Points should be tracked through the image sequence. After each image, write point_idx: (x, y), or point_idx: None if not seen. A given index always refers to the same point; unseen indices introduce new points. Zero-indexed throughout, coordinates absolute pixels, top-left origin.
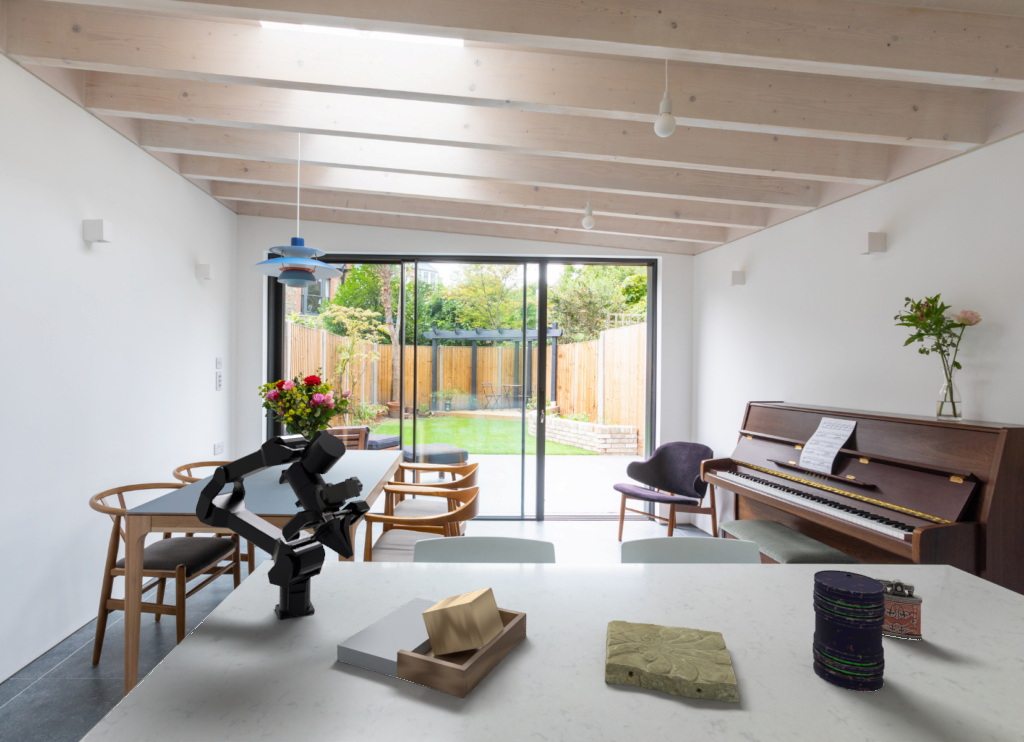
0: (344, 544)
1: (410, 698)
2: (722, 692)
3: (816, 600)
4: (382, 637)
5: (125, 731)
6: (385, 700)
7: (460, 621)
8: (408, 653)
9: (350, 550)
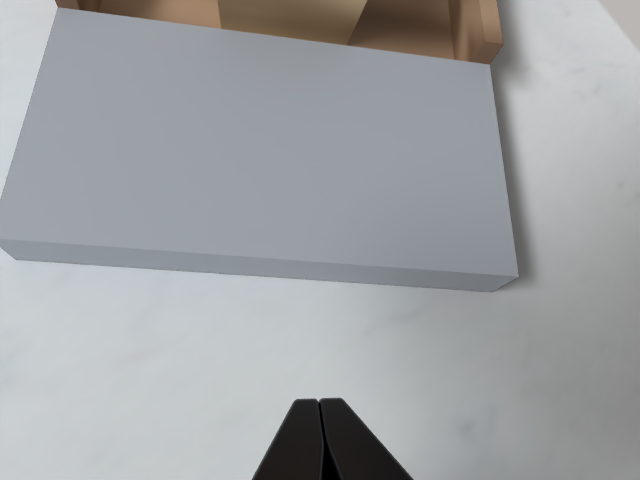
0: (403, 478)
1: (514, 36)
2: None
3: None
4: (397, 169)
5: None
6: (550, 76)
7: None
8: (490, 16)
9: (321, 423)
